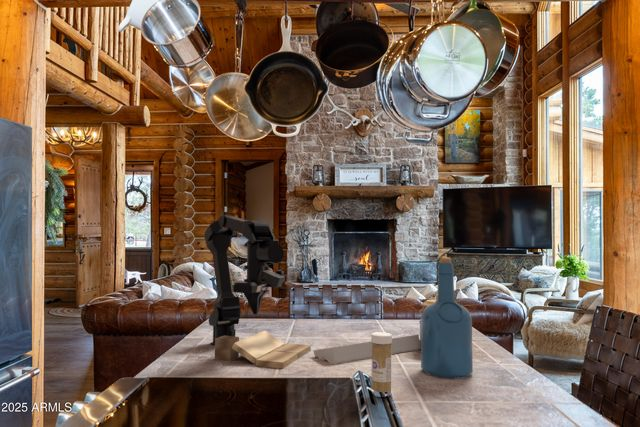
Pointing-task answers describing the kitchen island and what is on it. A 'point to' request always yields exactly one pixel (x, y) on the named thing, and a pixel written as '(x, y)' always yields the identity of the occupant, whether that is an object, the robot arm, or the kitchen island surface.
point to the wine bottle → (446, 331)
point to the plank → (257, 345)
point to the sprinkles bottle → (381, 361)
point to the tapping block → (226, 348)
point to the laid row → (283, 355)
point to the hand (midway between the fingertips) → (255, 314)
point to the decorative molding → (365, 350)
